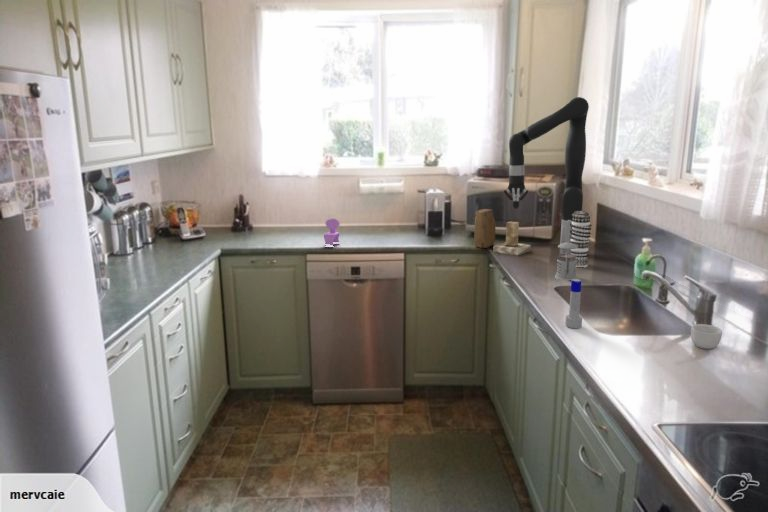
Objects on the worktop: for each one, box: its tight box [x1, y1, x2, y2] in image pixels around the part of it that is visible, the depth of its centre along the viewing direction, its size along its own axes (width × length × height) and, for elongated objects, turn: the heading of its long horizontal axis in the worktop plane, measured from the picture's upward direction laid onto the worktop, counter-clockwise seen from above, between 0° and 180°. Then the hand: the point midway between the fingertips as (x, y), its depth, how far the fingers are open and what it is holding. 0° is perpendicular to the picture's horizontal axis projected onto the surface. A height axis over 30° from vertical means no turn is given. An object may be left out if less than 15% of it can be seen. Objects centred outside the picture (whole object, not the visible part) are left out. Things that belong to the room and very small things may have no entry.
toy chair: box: [323, 218, 340, 246], centre depth 298 cm, size 8×9×15 cm
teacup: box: [690, 323, 723, 350], centre depth 158 cm, size 10×8×5 cm
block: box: [473, 208, 496, 249], centre depth 287 cm, size 11×8×20 cm
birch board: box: [492, 241, 532, 257], centre depth 277 cm, size 14×13×3 cm
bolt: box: [565, 278, 583, 329], centre depth 174 cm, size 16×5×5 cm
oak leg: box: [505, 221, 520, 247], centre depth 276 cm, size 5×5×15 cm
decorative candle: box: [569, 210, 592, 268], centre depth 245 cm, size 9×9×25 cm
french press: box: [554, 220, 578, 281], centre depth 226 cm, size 10×12×25 cm
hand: (516, 208), depth 275 cm, fingers closed
